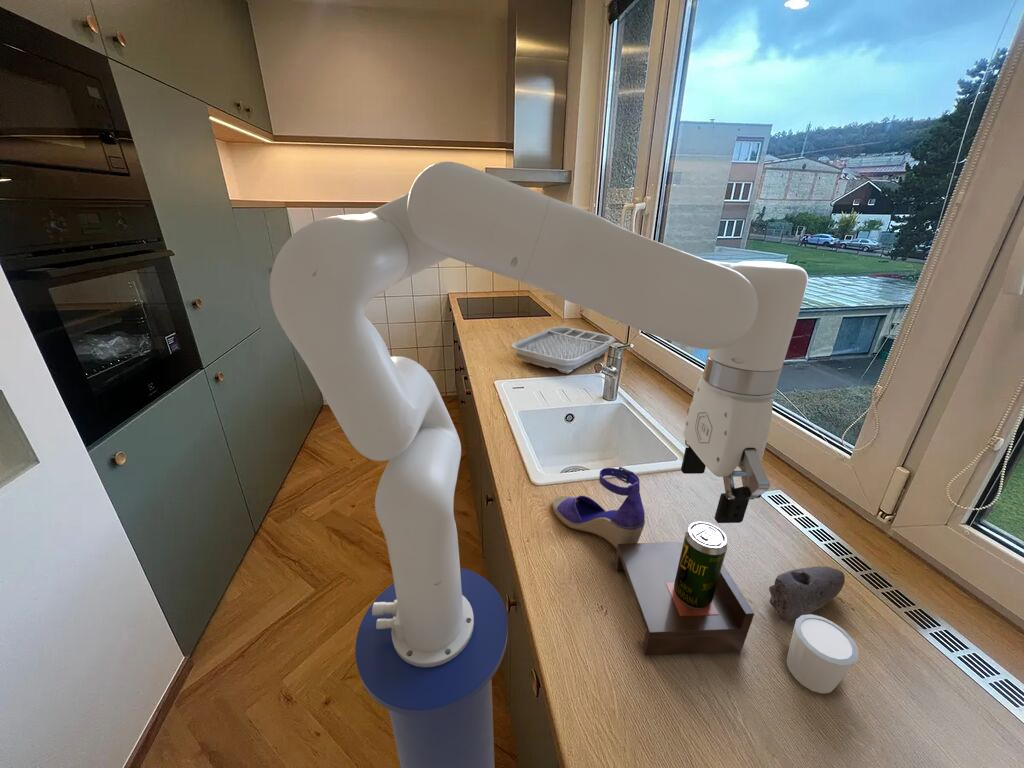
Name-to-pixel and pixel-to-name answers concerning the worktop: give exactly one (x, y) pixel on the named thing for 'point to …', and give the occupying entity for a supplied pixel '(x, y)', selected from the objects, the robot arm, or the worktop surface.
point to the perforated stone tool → (804, 590)
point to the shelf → (681, 604)
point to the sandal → (606, 524)
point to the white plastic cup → (820, 653)
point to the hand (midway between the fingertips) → (708, 494)
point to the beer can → (700, 565)
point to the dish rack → (562, 348)
